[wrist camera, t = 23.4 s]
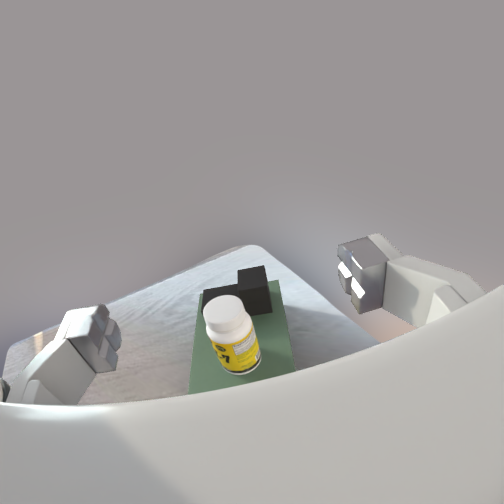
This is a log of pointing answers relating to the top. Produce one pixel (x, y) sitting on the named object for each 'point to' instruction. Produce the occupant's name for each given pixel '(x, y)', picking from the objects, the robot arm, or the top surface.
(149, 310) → the top surface
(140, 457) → the robot arm
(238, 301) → the supplement bottle
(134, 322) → the top surface
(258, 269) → the dark stepped block
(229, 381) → the block
